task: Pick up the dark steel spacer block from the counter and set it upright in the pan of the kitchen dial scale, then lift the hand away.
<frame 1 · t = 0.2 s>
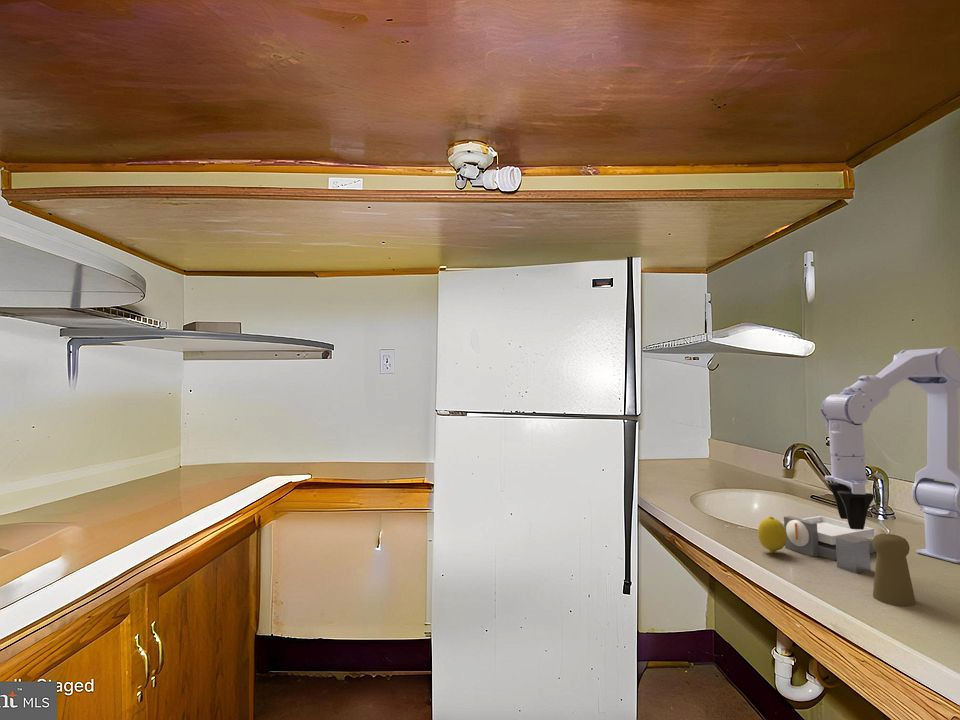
hand: (851, 523, 109), 10 cm above the table, fingers open, 7 cm apart
steel spacer block: (853, 568, 111), on the table
lemon: (773, 553, 122), on the table
kitchen scale: (827, 546, 125), on the table
cork: (894, 600, 96), on the table
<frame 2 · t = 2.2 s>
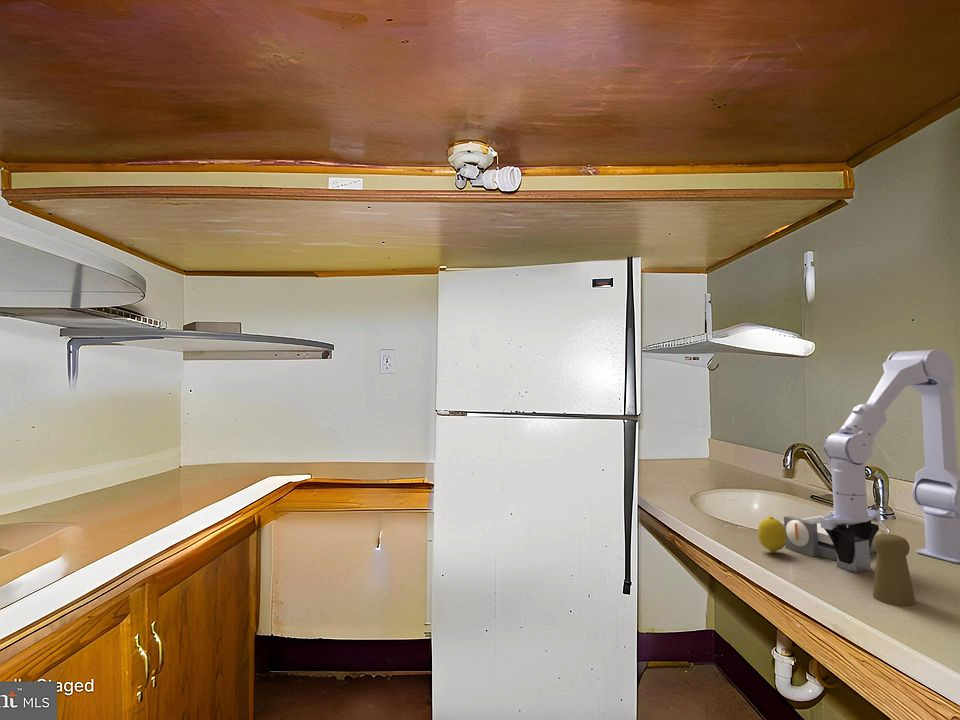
hand: (853, 560, 111), 2 cm above the table, fingers closed on steel spacer block, 4 cm apart
steel spacer block: (853, 568, 111), on the table, touching gripper
everything else where it was.
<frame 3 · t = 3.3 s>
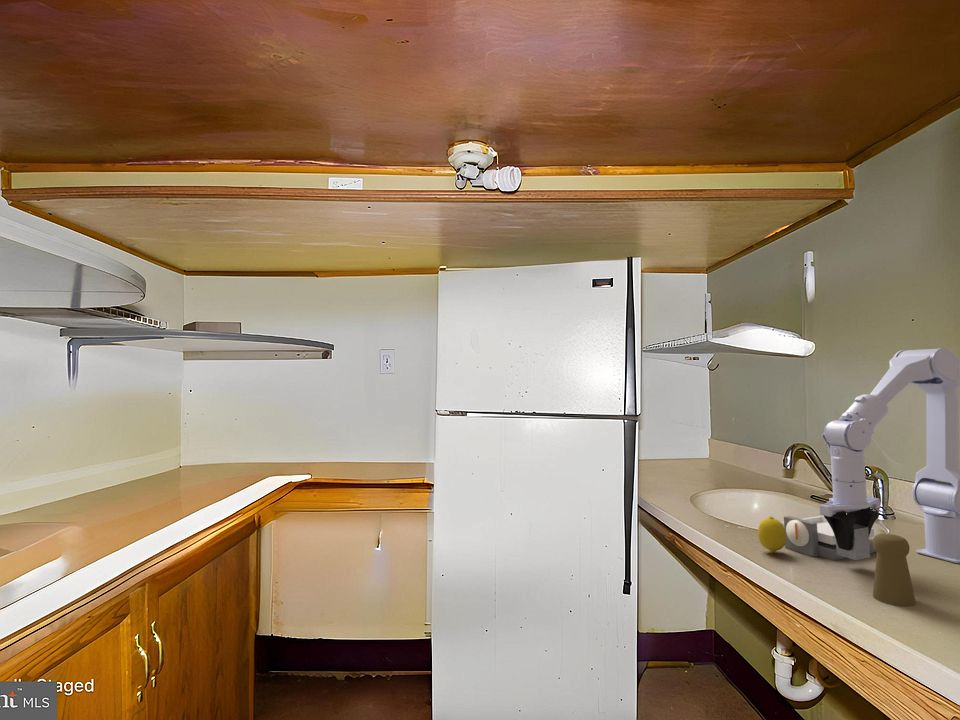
hand: (852, 547, 111), 4 cm above the table, fingers closed on steel spacer block, 4 cm apart
steel spacer block: (853, 555, 111), point 3 cm above the table, touching gripper
everything else where it was.
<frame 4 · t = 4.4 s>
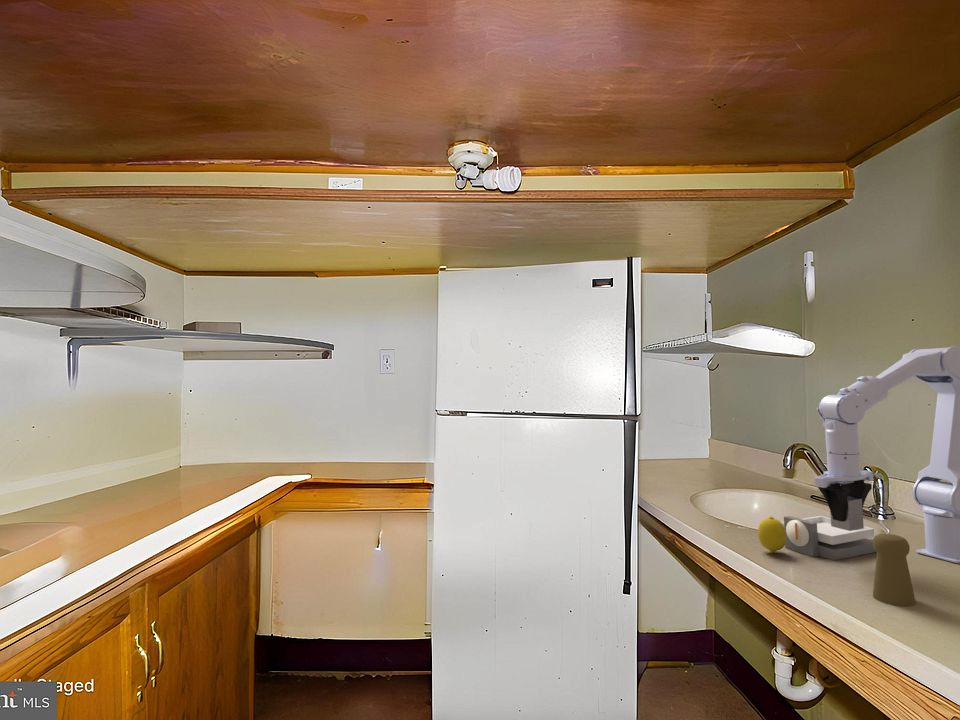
hand: (846, 518, 114), 9 cm above the table, fingers closed on steel spacer block, 4 cm apart
steel spacer block: (847, 527, 114), point 8 cm above the table, touching gripper
everything else where it was.
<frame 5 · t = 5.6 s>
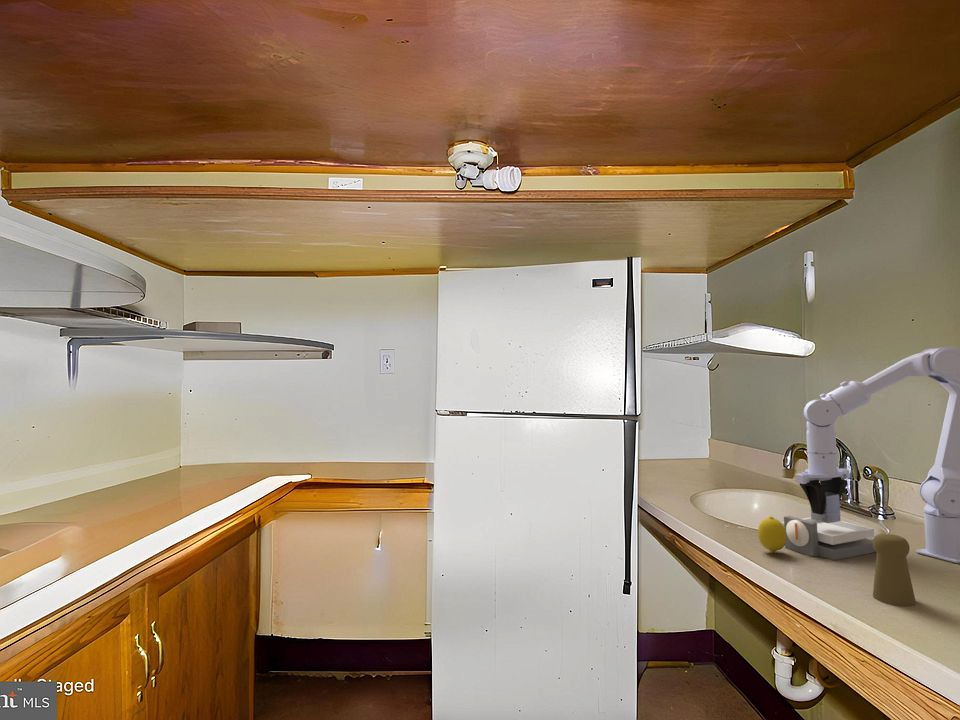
hand: (825, 512, 125), 8 cm above the table, fingers closed on steel spacer block, 4 cm apart
steel spacer block: (825, 520, 125), point 6 cm above the table, touching gripper
everything else where it was.
when the fingers open (7 cm above the table, at t = 6.5 s): steel spacer block drops 2 cm, resting on kitchen scale.
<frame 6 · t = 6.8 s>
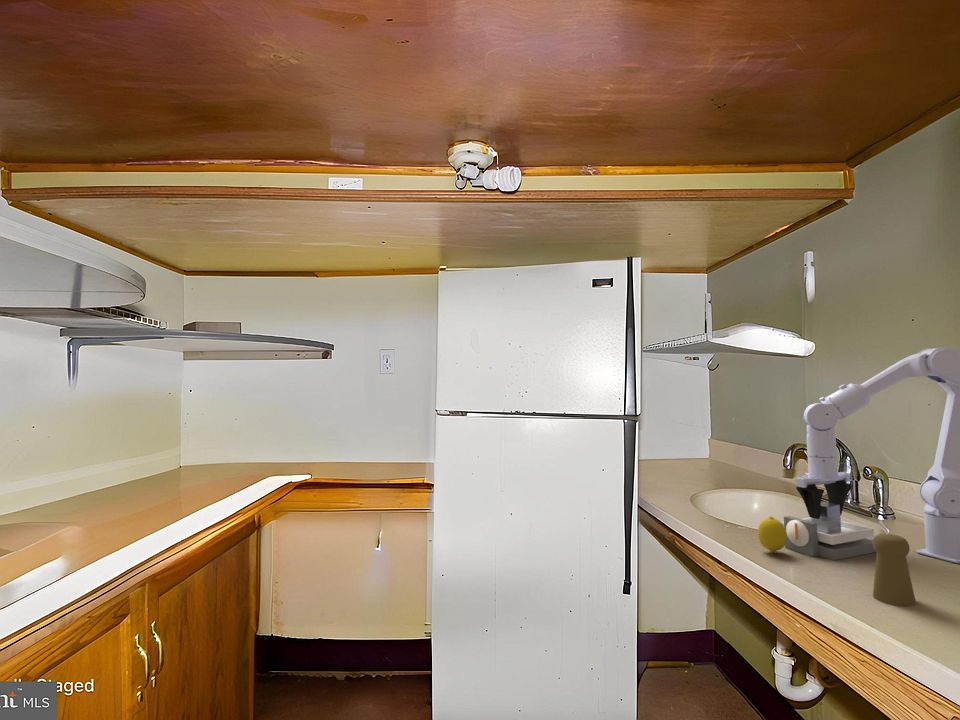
hand: (825, 516, 125), 7 cm above the table, fingers open, 6 cm apart
steel spacer block: (826, 530, 125), point 4 cm above the table, touching kitchen scale
everything else where it was.
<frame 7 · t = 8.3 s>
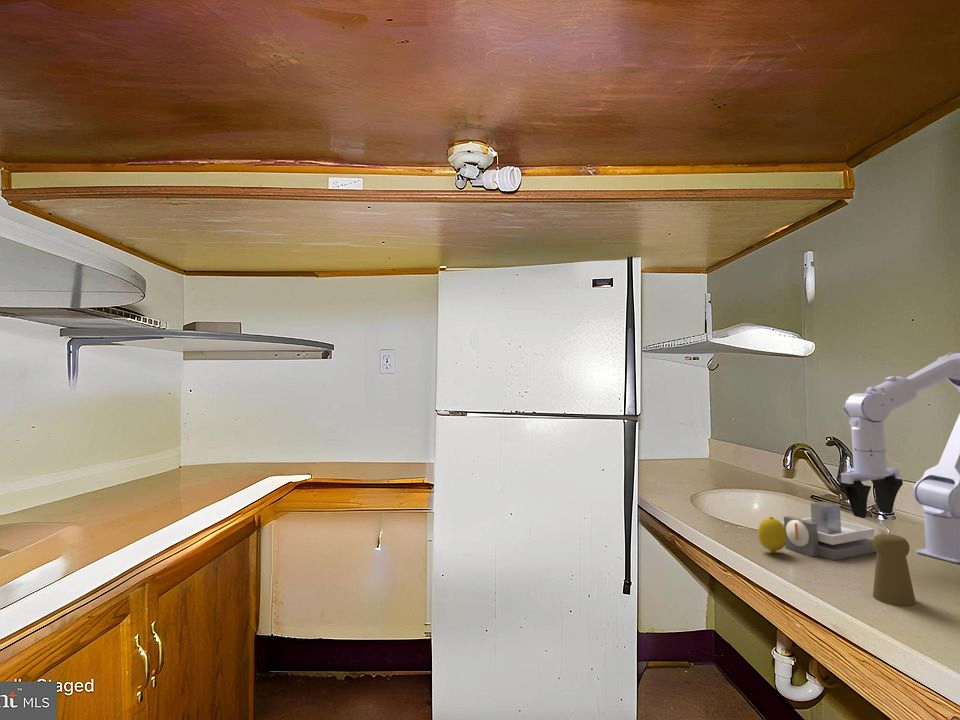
hand: (872, 514, 116), 9 cm above the table, fingers open, 7 cm apart
nothing on the table moved.
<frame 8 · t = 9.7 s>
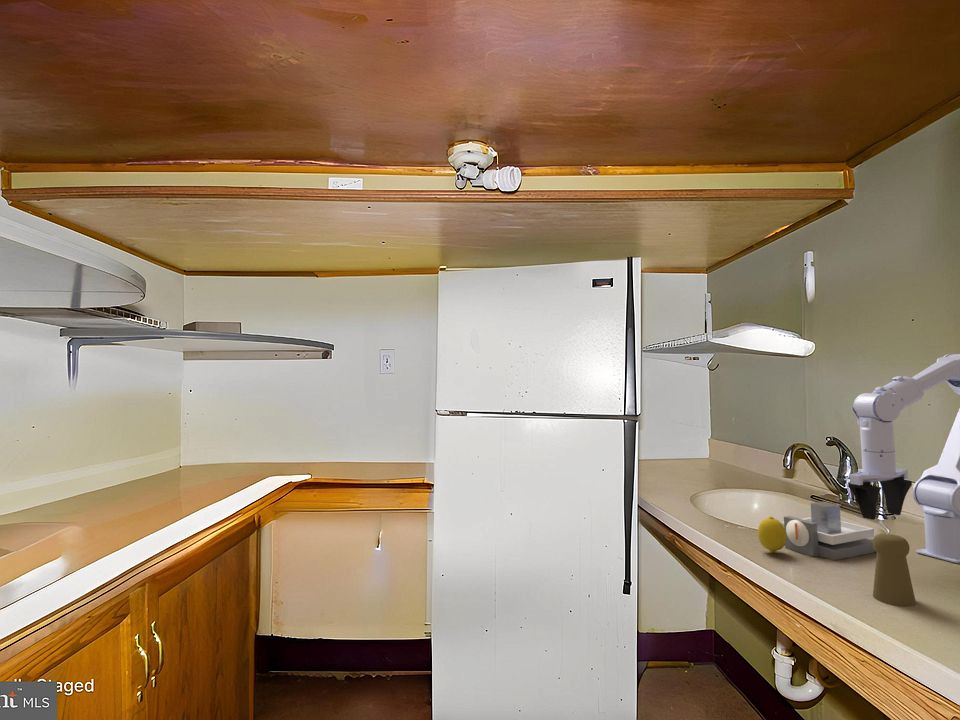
hand: (881, 516, 114), 9 cm above the table, fingers open, 7 cm apart
nothing on the table moved.
at the end: steel spacer block inside the target area on the kitchen scale (0.1 cm from its centre), point 3.6 cm above the kitchen scale's base; steel spacer block tilted 0°; the gripper is holding nothing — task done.
